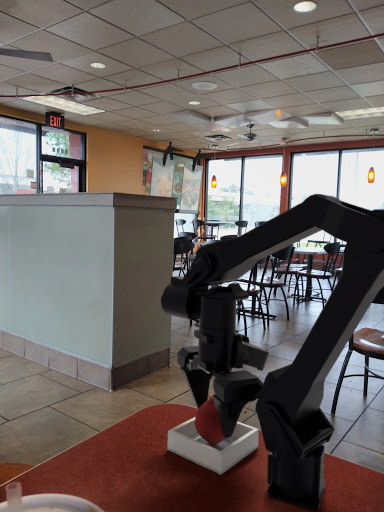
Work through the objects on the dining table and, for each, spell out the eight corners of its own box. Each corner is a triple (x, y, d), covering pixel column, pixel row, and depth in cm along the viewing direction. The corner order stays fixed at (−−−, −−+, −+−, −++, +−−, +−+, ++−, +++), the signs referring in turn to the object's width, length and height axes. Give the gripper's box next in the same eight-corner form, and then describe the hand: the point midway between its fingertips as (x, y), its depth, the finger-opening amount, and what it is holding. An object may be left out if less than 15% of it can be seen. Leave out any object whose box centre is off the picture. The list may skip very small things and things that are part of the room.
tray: (257, 447, 67) (258, 429, 67) (221, 474, 59) (221, 454, 59) (206, 427, 73) (207, 410, 73) (167, 449, 66) (167, 430, 65)
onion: (232, 437, 69) (231, 388, 69) (232, 454, 63) (231, 400, 63) (196, 437, 69) (195, 388, 69) (193, 453, 64) (192, 400, 64)
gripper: (297, 336, 60) (292, 443, 61) (234, 312, 77) (231, 395, 78) (227, 342, 55) (223, 457, 56) (177, 315, 73) (174, 403, 73)
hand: (214, 423), depth 66 cm, fingers open, 9 cm apart
